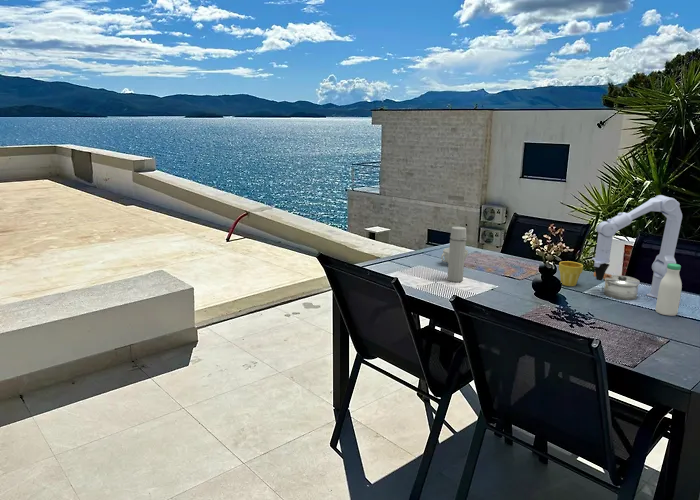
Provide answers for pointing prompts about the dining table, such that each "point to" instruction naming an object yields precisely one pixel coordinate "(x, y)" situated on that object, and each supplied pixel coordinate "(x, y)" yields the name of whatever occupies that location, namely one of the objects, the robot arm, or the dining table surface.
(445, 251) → the teacup
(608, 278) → the cooker lid
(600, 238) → the robot arm
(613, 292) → the cooker pot
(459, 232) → the water bottle
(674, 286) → the milk bottle
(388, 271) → the dining table surface
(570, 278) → the plant pot
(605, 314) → the dining table surface
